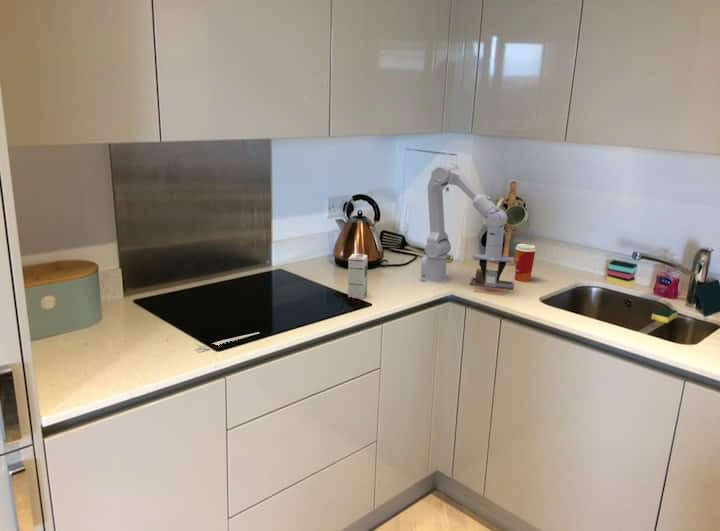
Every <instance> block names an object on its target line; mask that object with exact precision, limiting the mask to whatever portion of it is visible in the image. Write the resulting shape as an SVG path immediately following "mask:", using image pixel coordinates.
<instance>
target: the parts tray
mask: <svg viewBox="0 0 720 531" xmlns="http://www.w3.org/2000/svg"><path fill="white" fill-rule="evenodd" d="M475 278H476V277H473V276H472V277H471V278H470V282H469V286H473V287H474V286H483V287H491V286H485V284H479V283H475ZM491 288H500V289H506V290H510V291H513V288H514V281H507V280H500V279H499V282H497V285H496V287H491Z"/></svg>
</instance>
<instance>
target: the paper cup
mask: <svg viewBox="0 0 720 531" xmlns="http://www.w3.org/2000/svg"><path fill="white" fill-rule="evenodd" d="M536 252H537V249H536V246H535V245H534V244H529V243H528V244H527V243H519V244H517V245H516V247H515V265H514V266H515V271H514V280H515V281H517V282H521V283H529V282H530V281H531V277H532V272H533V271H532V270H533V266H534V260H535V254H536Z"/></svg>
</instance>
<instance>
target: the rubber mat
mask: <svg viewBox="0 0 720 531" xmlns="http://www.w3.org/2000/svg"><path fill="white" fill-rule="evenodd" d="M506 291H507V289H500V288H491V287H483V286H475V287H474V290H473V292H474V293H479V294H489V295H495V296H496V295H497V296H504V297H505V296H506Z"/></svg>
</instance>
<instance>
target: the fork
mask: <svg viewBox="0 0 720 531" xmlns="http://www.w3.org/2000/svg"><path fill="white" fill-rule="evenodd" d="M258 334H260V332H254V333H249V334H244V335H240V336H236V337H232V338H228V339H227V338H226V339H222V340H219V341H215V342H213V343H212V344H215V345H218V346H219V345H220V344H221V345H223V343H224V344H227V343H226V342H228V343H231V342H230V341H232V342H236V341H239V340H241V339H244V338H248V337H250V336H255V335H258ZM238 339H239V340H238ZM235 340H236V341H235ZM195 345H196V346H198V347H199V348H201V349H204V350H208V349H210V348H209V347H205V345H206V344H205V345H201V344H197V343H196V344H195ZM221 345H220V346H221ZM220 346H219V347H220ZM208 351H209V350H208Z"/></svg>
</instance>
